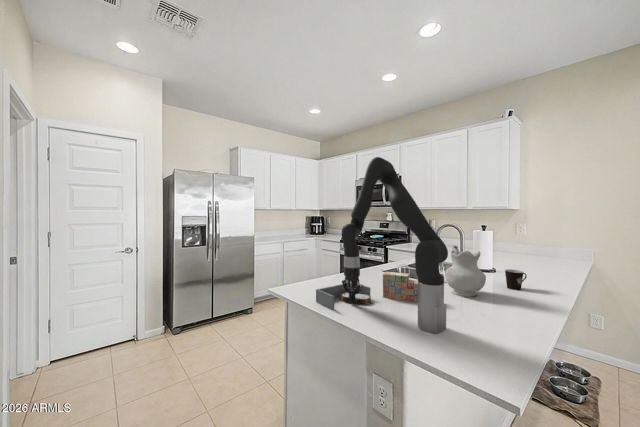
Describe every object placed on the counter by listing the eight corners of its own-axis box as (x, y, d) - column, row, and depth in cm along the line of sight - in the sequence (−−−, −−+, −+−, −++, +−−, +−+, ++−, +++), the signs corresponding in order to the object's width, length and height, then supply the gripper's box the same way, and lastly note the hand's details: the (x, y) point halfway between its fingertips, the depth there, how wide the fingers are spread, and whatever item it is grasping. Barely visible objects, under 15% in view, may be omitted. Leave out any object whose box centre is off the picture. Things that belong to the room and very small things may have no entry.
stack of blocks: (428, 299, 135) (428, 275, 135) (427, 303, 129) (427, 278, 129) (385, 294, 144) (385, 271, 144) (382, 297, 138) (382, 273, 138)
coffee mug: (508, 290, 151) (508, 272, 151) (502, 285, 160) (502, 269, 159) (532, 291, 148) (532, 273, 148) (525, 287, 156) (525, 270, 156)
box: (370, 299, 135) (370, 287, 135) (332, 309, 121) (332, 296, 121) (352, 293, 145) (352, 281, 145) (316, 301, 131) (316, 289, 131)
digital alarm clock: (369, 305, 126) (372, 301, 134) (369, 298, 126) (372, 294, 134) (338, 301, 132) (343, 297, 139) (338, 295, 132) (343, 291, 140)
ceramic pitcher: (434, 290, 154) (432, 247, 153) (462, 285, 160) (459, 243, 159) (465, 303, 133) (463, 253, 132) (495, 296, 139) (493, 248, 138)
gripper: (367, 266, 124) (368, 304, 124) (348, 262, 135) (348, 297, 135) (355, 268, 120) (356, 307, 120) (336, 264, 131) (337, 300, 131)
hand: (352, 302), depth 128 cm, fingers closed
